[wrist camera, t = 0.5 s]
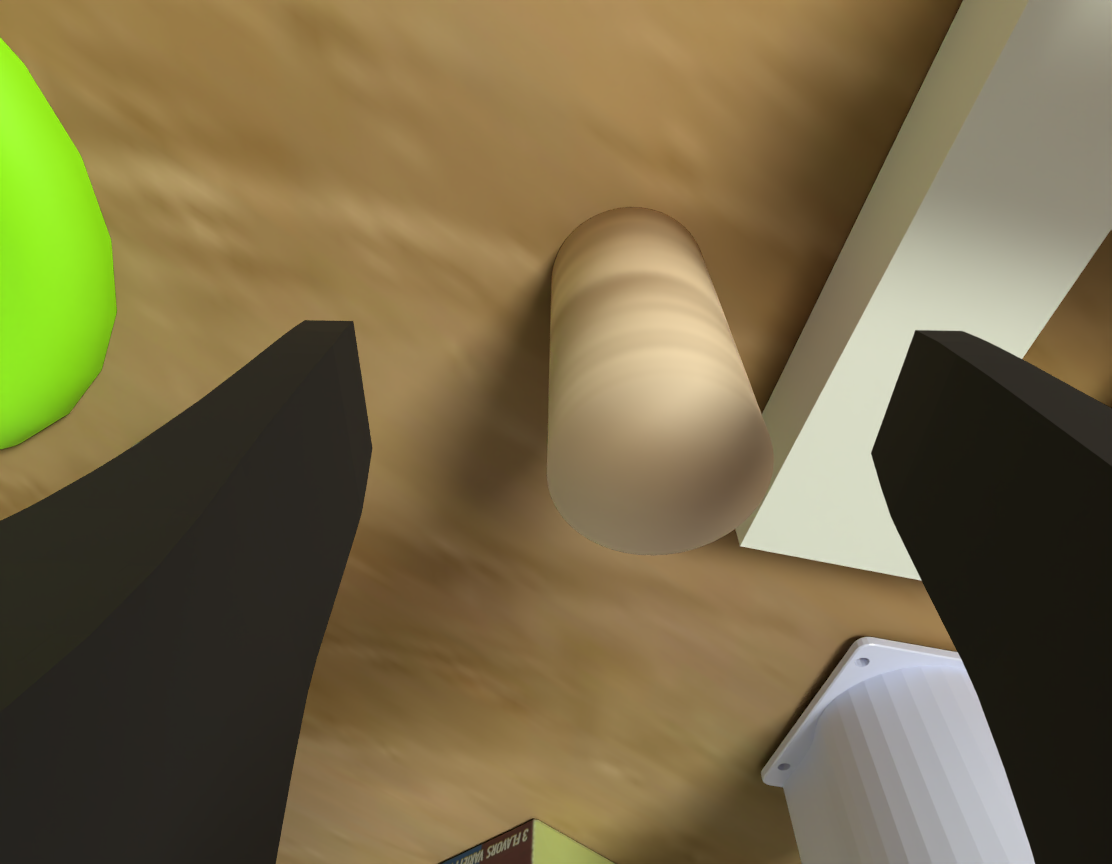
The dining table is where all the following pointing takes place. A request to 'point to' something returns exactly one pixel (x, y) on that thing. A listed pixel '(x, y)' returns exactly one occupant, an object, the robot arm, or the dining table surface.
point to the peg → (647, 392)
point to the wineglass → (46, 263)
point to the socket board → (944, 258)
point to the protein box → (530, 848)
